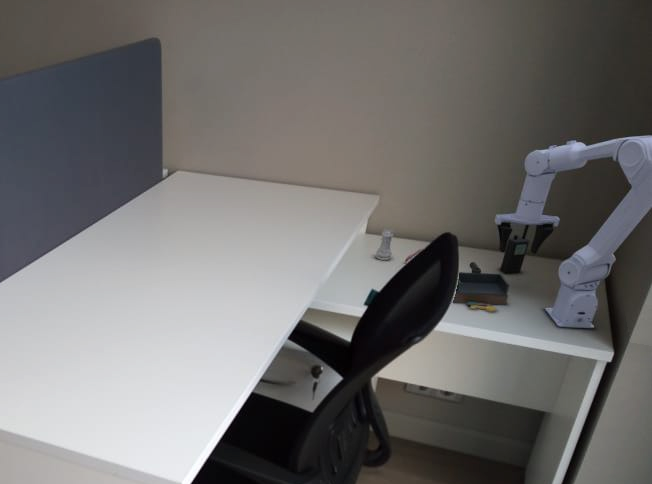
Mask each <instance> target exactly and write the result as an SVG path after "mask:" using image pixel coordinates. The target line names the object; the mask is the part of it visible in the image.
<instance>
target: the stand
mask: <svg viewBox="0 0 652 484" xmlns="http://www.w3.org/2000/svg"><path fill="white" fill-rule="evenodd" d="M508 298H509V295H508V294H507V296H504V295H482V294H459V293H456V294H455V297H454V300H453V302H452V303H461V304H462V303H463V304H467V302H476V303H485V304H491V305H507V302H508Z"/></svg>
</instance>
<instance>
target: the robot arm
mask: <svg viewBox="0 0 652 484" xmlns="http://www.w3.org/2000/svg"><path fill="white" fill-rule="evenodd" d="M611 157H612V160H613V161H614V162H618V164H619V165H620V168H621V169H622V172H623V174H624V175H625V177H626V180H627V181H628V183H629V184H630V186H631V189H630V190H629V191H628V192H627V193H626V195H625V196H624V197H623V199H622V200H620V203H619V204H618V205H617V206H616V207H615V208H614V210H613V212H611V214H610V216H608V218H607V219H606V221H604V223H603V224H602V225H601V227H600V228H599V230H598V231H597V232H596V233H595V235H593V237H592V238H591V240H590V241H589V242H588V243H587V244H586V245H585V246H583V247H581V248H580V249H578V250H577V251H575V252H574V253H573V254H572V255H571V256H570V257H569V258H567V259H565V260H563V261H562V262H561V263H560V264H559V267H558V271H557V273H558V278H559V280H560V281H559V283H560V286H559V289H558V293H557V295H556V298H555V301H554V304H553V307H545V309H544V310H545V312H546V313H547V314H548V316H549V317H550V318H551V319H552V320H553V322H554V323H555V325H557V327H559V328H577V329H579V328H581V329H594V328H595V326H594V324H593V323H592V322H593V320H594V317H595V314H596V313H597V310H598V306H599V299H598V298H597V296H596V292H597V288H598V286H599V285H600V282H601V281H604V280H605V279H606V278H607V277H609V275H610V273H611V270H612V266H613V264H614V263H615V262H616V260H617V258H616V256H615V255H614V253H615V252H616V251H617V250H618V249H619V247H620V246H621V245H622V244H623V242H624V241H625V240H626V239H627V237H629V235H630V234H631V233H632V232H633V230H634V229H635V228H636V227H637V225H639V223H640V222H641V221H642V219H643V218H644V217H645V216H646V214H647V213H648V212H650V210H651V209H652V135H638V136H637V135H636V136H628V137H620V138H614V139H610V140H607V141H602V142H597V143H594V144H590V145H586V144H585V143H584V142H580V141H577V140H576V139H575V140H570V141H566V144H563V145H559V146H558V145H556V144H555V145H549V147H548V148H547V149H540V150H539V149H535V150H534V151H531V152H529V153H528V155H526V158H525V159H524V165H523V166H524V170H525V172H526V176H525V180H524V183H523V186H522V189H521V193H520V197H519V200H518V204H517V207H516V211H515V213H503V214H495V217H494V223H495V225H496V226H497V230H498V236H499V248H498V249H499V251H500V252H501V253H505V251H506V247H507V244H508V240H509V238H511V237H510V236H511V234H512V232H513V228H512V225H525V226H526V225H529V226H534V225H535V226H536V227H535V233H534V236H533V241H532V243H531V246H530V252H531V253H532V254H537V252H538V250H539V249H540V247H541V246H542V244H543V243H544V242H545V241H546V240H547V238H548V237H550V235H552V234H553V233H554V230H555V228H554V227H559V223H560V220H561V219H560V218H559V217H558V216H556V215H555V216H554V215H545V214H543V212H544V211H543V210H544V208H545V205H546V202H547V198H548V195H549V192H550V188H551V185H552V182H553V180H555V178H556V175H557V173H560V172H564V171H570V170H576V169H580V168H582V167H584V166H585V165H586V164H587V162H588V161H592V160H597V159H603V158H604V159H605V158H611Z"/></svg>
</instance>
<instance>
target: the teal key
mask: <svg viewBox="0 0 652 484" xmlns="http://www.w3.org/2000/svg"><path fill="white" fill-rule="evenodd" d="M466 305H468V306H471V305H476V306H484V307H486V306H492V304H485V303H476V302H467V303H466Z"/></svg>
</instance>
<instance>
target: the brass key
mask: <svg viewBox="0 0 652 484" xmlns="http://www.w3.org/2000/svg"><path fill="white" fill-rule="evenodd" d="M469 306H470V307H469V309H470V310H474V311H475V310H476V309H479V310H485V311H486V312H489V313H493V312H495V311H496V307H495V306H493V305H491V306H482V305H469Z"/></svg>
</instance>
